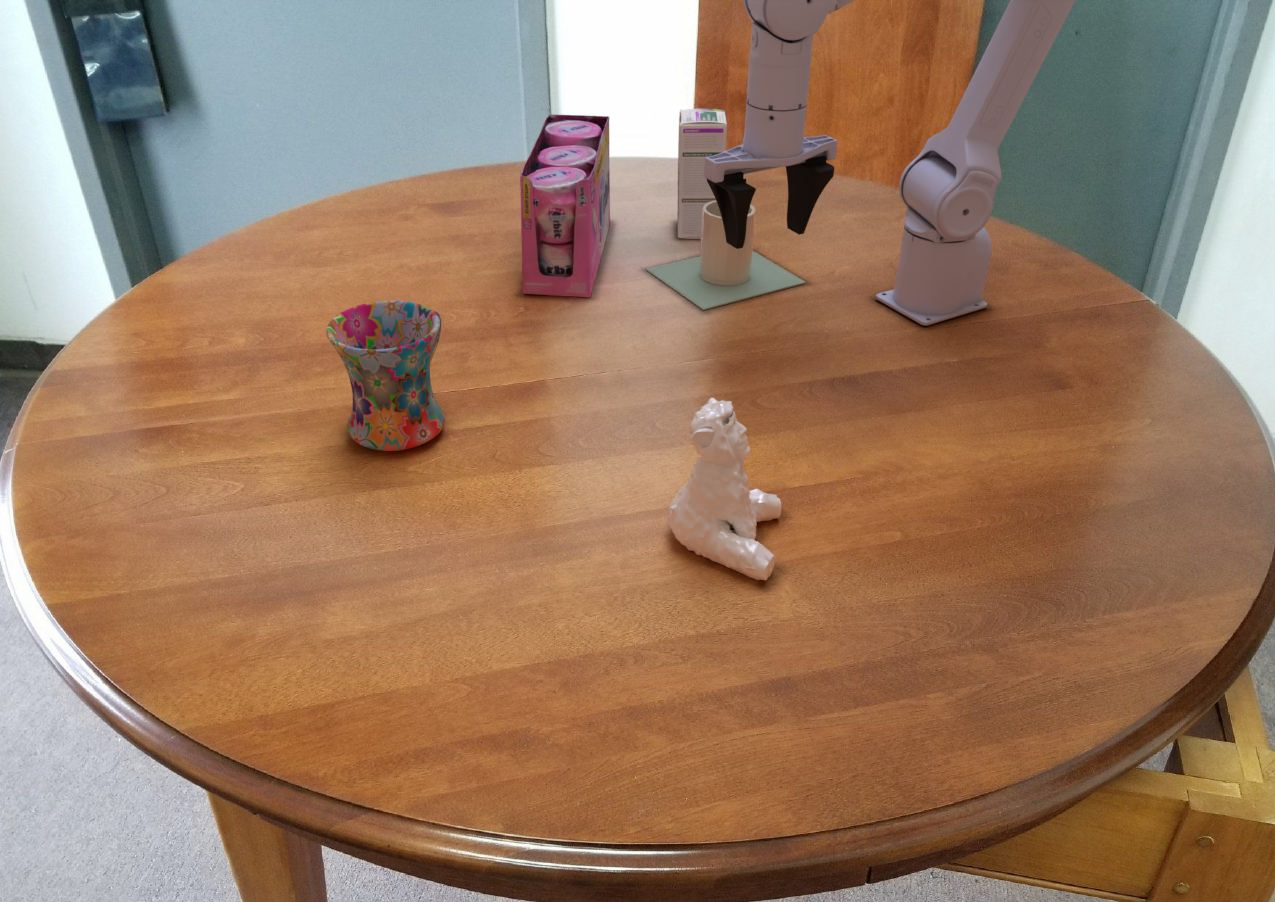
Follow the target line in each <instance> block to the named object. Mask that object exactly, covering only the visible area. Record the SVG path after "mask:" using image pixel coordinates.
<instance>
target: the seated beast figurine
mask: <svg viewBox="0 0 1275 902" xmlns="http://www.w3.org/2000/svg"><path fill="white" fill-rule="evenodd" d="M734 408H735V407H734V406H733V401H732V400H723V399H721V400H719V401H718V400H717V399H716V398H715V397H710V398H709V399H708V401H707V403H706V404H704V405H702V406H701V408H700V410H698V411H695V412H694V413H693V415H694V416H693V418H692V419H691V422H690V424H689V426H688V431H689V433H690V436H689V437H690V438H689V440H690V442H691V445H692V447H693V448H694V449H695V450H696V452H697V454H698V455H699V456H700V457H698V458H696V461H695V463H694V464H693V469H692V470H691V471H690V473H689V474H690V475H689V477H688V479H687V482H686V483H685V484H683V485H682V486H681V487H680V488H679V491H678V492H677V493H676V495H675V496H674V498H673V500H672V501H671V502H670V504H669V505H668V506H667V513H668V516H667V523H668V524H667V525H668V527H669V528H670V529H671V532H672V533H673V535H674V537H675V539H676V540H677V541H678V542H679V543H680V544H681V545H683V546H684V547H685V548H686V549H687V551H691V552H694V553H695V555H697V556H702V557H703V558H707V559H709V560H710V561H711V562H715V563H717V564H720V565H723V566H725V567H726V568H729V569H730V570H733V571H736V572H738V573H740V574H742V575H744V576H746V577H748V578H751V579H752V580H756V581H760V580H761V581H767V580H768V578H770V577H771V574H772V572H773V570H774V568H775V563H776V556H775V554H773V552H771V550H769V549H768V548H767V547H765V545H764V544H761V542H759V541H757V540H755V539H756V538H757V525H758V524H757V523H760V522H765V521H772V520H776V519H779V518H780V517H781V514H782V501H781V499H780V498H779V497H778V494H773V493H767V492H765V491H762V490H761V489H760V488H754V489H752V490H751V489H750V487H749V485H748V484H749V477H748V475H747V472H746V471H745V458H747V457H749V455H750V451H751V448H750V446H749V441H748V436H747V435H746V433H747V432H748V428H747V427H746V426H745V425H743V424H742V423H740V422H739V421H738V418H737V416H736V413H735V410H734Z"/></svg>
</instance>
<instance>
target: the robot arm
mask: <svg viewBox="0 0 1275 902" xmlns="http://www.w3.org/2000/svg"><path fill="white" fill-rule="evenodd" d="M855 1H856V0H743V6H744V9H745V12H746V13H747V16H748V17H749V18H750V20H751V21H752V24H751V39H750V49H749V58H748V72H747V73H748V74H747V86H746V87H747V88H746V104H745V116H744V117H745V118H744V119H745V120H744V135H743V139H742V142H741V144H739V145H737V146H734V147H732V148H730V149H726V151H725V152H722V153H720V154H717V155H713V156H709V157H705V168H704V177H706V178H707V182H708V184H709V186H710V188H711V190H712V192H713V194H714V196H715V199H716V201H717V204H718V207H719V210H720V213H721V217H722V221H723V225H724V230H725V236H726V243H728V244H730V245H731V246H733V247H734V248H736V249H740V248H743V246H744V242H745V236H746V225H747V217H748V212H749V208H750V205H752V202H753V198H754V196H755V193H756V191H757V188H756V187H754V186H752V185H751V184H749V183H747V178H744V176H745V175H748V174H752V173H758V172H764V171H769V170H773V169H774V170H775V169H779V168H783V167H785V171H786V179H787V180H786V181H787V206H786V207H787V208H786V227H787V229H788V230H790V231H791V232H793V233H795V234H797V235H798V236H799V235H804V234H805V232H806V229H807V227H808V224H809V221H810V218H811V216H812V213H813V211H814V209H815V207H816V204H817V202H818V200H819V198H820V196H821V195H822V193H823V191H824V190H825V189H826V187H827V185H828V184H829V183H830V181H831V180H833V178H834V176H835V175H834V174H835V166H834V165H832V164H831V163H828V162H827V161H833V160H836V159H837V151H838V142H839V140H838V139H836V138H833V137H831V136H829V135H826V134H824V135H816V136H805V128H806V118H807V109H808V97H809V87H810V86H809V85H810V76H811V68H812V67H811V66H812V64H811V63H812V58H813V54H812V52H813V43H814V42H813V41H814V35H815V34H816V33H817V32H818V31H819V30H820V29H821V27H822V26H823V24H824V22H825V20H826V18H827V16H829V15H830V14H833V13H834V12H836V11H838V10H840V9H842V8H844V7H846V6H847V5H850V4H852V3H853V2H855ZM1075 2H1076V0H1009V2H1008V4H1007V6H1006V8H1005V10H1004V12H1003V15H1002V16H1001V19H1000V20H999V22H998V23H997V24H998V25H997V26H996V28H995V31H994V33H993V35H992V37H991V39H990V41H989V43H988V45H987V46H986V49H985V51H984V53H983V55H982V56H981V59H980V61H979V63H978V66H977V67H976V69H975V71H974V73H973V75H972V77H971V79H970V81H969V83H968V85H967V87H966V89H965V91H964V93H963V96H962V98H961V100H960V101H959V102H958V103H959V104H958V106H957V107H956V110H955V112H954V114H953V116H952V118H951V120H950V122H949V124H948V125H947V127H946V128H944V129H943V130H941V131H939V132H937V133H935V134H934V135H932V136H930V137H929V138H928V139H927V140H926V143H925V144H924V146H923V148H922V149H921V151H920V153H919V154H918V155H917V156H916V157H915V158H914V159H913V160H911V161H910V162H909V164H908V165H907V166H905V168H904V170H903V172H902V173H901V176H900V179H899V183H898V192H899V197H900V199H901V201H902V203H903V204H905V206H906V210H905V218H904V224H903V225H904V226H903V231H902V236H901V237H902V238H901V244H900V250H899V256H898V263H897V268H896V275H895V282H894V287H893V289H889V290H886V291H882V292H878V293H876V295H875V299H876V300H877V301H879V302H880V303H883V304H884V305H886V306H888V307H889V308H891V309H893V310H894V311H896V312H898V313H900V314H901V315H904V316H905V317H907V318H909V319H910V320H912V321H914V322H916V323H918V324H919V325H921V326H930V325H933V324H937V323H940V322H943V321H946V320H947V321H948V320H949V319H950V320H951V319H952V318H956V317H959V316H960V317H961V316H963V315H966V314H969V313H974V312H977V311H979V310H983V309H987V308H988V302H986V301H985V300H983V297H984V291H985V288H986V282H987V279H988V273H989V269H990V264H991V258H992V254H993V253H992V251H993V245H992V244H993V243H992V240H991V236H990V234H989V232H988V230H987V229H986V228H985V226H986V225H987V223H988V222H989V220H990V219H991V216H992V213H993V209H994V200H995V194H996V191H997V188H998V186H999V185H1000V183H1001V181H1002V169H1001V164H1000V159H999V152H998V151H999V148H1000V146H1001V144H1002V142H1003V140H1004V139H1005V136H1006V135H1007V133H1008V130H1009V128H1010V127H1011V125H1012V123H1013V121H1014V119H1015V117H1016V116H1017V113H1018V111H1019V109H1020V108H1021V106H1022V104H1023V102H1024V100H1025V98H1026V96H1027V94H1028V92H1029V90H1030V88H1031V87H1032V85H1033V83H1034V81H1035V79H1036V77H1037V75H1038V74H1039V71H1040V70H1041V68H1042V65H1043V63H1044V62H1045V60H1046V58H1047V55H1049V52H1050V50H1051V49H1052V46H1053V44H1054V42H1055V40H1056V38H1057V37H1058V35H1059V34H1060V31H1061V29H1062V27H1063V25H1064V23H1065V21H1066V19H1067V18H1068V15H1069V14H1070V11H1071V10H1072V8H1073V6H1074V4H1075Z"/></svg>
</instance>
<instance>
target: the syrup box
mask: <svg viewBox="0 0 1275 902" xmlns="http://www.w3.org/2000/svg"><path fill="white" fill-rule="evenodd" d="M727 137H728V122H727V116H726V111H725V110H724V109H719V108H687V109H679V117H678V141H677V143H678V144H677V145H678V147H677V149H678V151H677V153H678V154H677V208H676V211H677V212H676V213H677V214H676V216H677V217H676V219H677V220H676V223H677V238H678V239H685V240H701V227H702V208H703V206H704V205H705V204H706V203H708V202H711V201H715V200H716V199H715V196H714V194H713V192H712V190H711V188H710V186H709V184H708V182H707V178H706V177H704V168H705V157H709V156H713V155H717V154H720V153H722V152H725V151H727V139H728V138H727Z"/></svg>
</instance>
